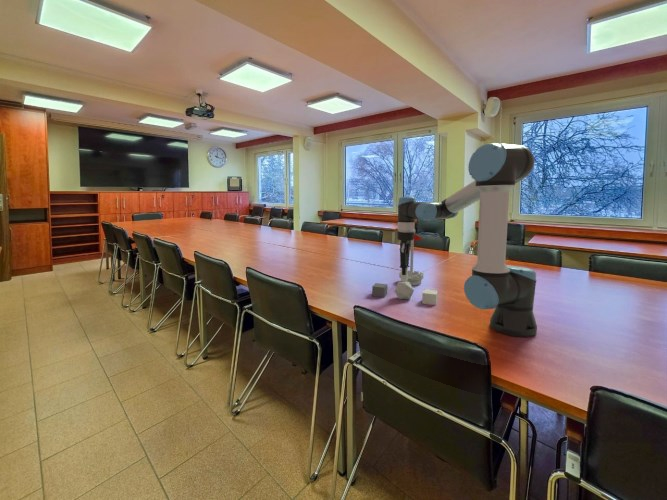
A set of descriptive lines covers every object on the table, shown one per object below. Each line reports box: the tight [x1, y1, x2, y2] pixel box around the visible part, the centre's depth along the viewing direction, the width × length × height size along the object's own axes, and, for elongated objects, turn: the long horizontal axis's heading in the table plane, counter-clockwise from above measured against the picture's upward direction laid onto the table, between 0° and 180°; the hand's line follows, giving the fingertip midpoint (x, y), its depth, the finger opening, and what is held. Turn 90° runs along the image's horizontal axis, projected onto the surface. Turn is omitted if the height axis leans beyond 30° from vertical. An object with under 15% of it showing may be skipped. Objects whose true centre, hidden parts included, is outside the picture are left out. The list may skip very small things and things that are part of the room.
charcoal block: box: [371, 282, 388, 298], centre depth 163 cm, size 6×6×5 cm
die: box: [394, 281, 415, 300], centre depth 157 cm, size 8×9×10 cm
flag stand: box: [398, 228, 425, 286], centre depth 182 cm, size 13×13×30 cm
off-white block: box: [421, 288, 439, 306], centre depth 151 cm, size 6×6×5 cm
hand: (404, 280), depth 156 cm, fingers closed
